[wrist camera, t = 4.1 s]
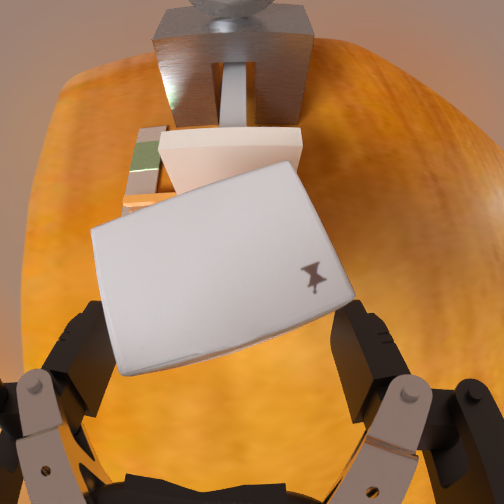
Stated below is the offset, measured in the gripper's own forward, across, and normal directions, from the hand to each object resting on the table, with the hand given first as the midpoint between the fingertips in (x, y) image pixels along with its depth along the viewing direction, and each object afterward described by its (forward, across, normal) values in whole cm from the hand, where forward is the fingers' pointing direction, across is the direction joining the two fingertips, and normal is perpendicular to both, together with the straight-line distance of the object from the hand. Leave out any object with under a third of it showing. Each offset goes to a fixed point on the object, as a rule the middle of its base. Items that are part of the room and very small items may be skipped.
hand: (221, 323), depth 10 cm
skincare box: (+7, 0, +5) cm, 8 cm away
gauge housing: (+15, +1, -4) cm, 16 cm away
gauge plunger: (+15, +2, -5) cm, 16 cm away
